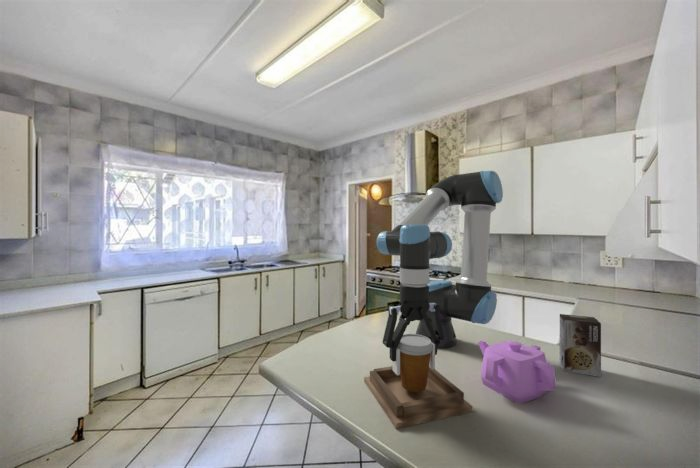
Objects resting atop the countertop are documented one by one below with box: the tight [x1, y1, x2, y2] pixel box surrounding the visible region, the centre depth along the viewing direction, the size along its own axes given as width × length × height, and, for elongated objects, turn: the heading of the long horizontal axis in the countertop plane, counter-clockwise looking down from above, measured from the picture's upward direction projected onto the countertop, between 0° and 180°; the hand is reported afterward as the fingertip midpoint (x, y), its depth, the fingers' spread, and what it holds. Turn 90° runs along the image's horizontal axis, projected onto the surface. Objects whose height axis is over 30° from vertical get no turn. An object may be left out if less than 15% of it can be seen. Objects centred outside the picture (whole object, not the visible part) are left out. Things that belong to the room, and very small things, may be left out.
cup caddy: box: [363, 365, 473, 430], centre depth 74 cm, size 20×20×4 cm
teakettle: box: [477, 340, 557, 404], centre depth 78 cm, size 17×17×12 cm
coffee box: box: [558, 313, 602, 378], centre depth 88 cm, size 9×6×16 cm
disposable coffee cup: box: [398, 333, 433, 392], centre depth 74 cm, size 10×10×12 cm
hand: (413, 369), depth 74 cm, fingers closed on disposable coffee cup, 9 cm apart
